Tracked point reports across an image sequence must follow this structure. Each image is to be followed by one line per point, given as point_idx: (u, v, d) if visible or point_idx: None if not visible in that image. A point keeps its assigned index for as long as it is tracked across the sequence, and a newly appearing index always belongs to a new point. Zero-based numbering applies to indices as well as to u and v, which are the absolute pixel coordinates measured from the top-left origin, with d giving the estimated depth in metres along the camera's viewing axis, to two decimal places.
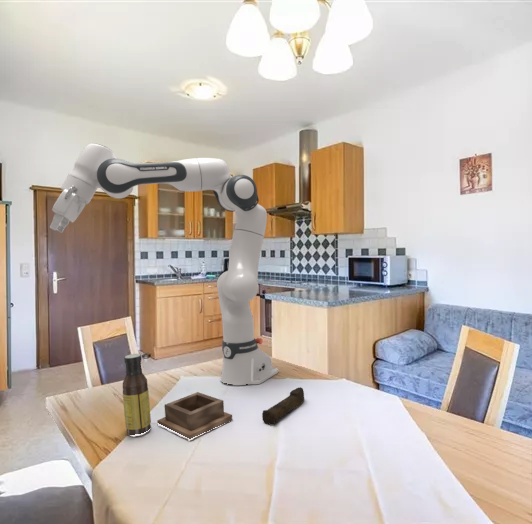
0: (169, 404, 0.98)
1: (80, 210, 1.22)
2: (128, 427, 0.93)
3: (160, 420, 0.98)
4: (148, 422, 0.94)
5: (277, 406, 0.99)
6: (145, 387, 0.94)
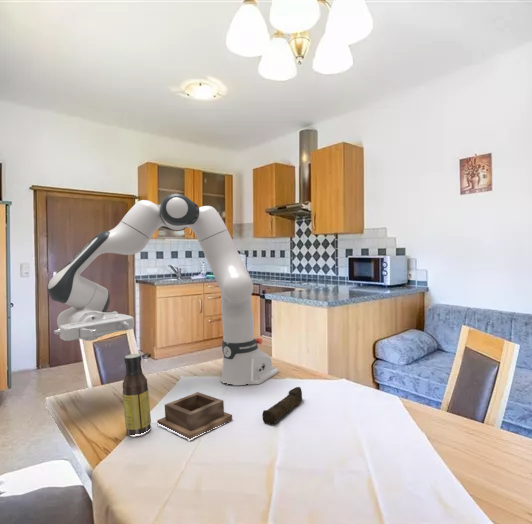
0: (169, 404, 0.98)
1: (121, 315, 1.15)
2: (128, 427, 0.93)
3: (160, 420, 0.98)
4: (148, 422, 0.94)
5: (277, 406, 0.99)
6: (145, 387, 0.94)
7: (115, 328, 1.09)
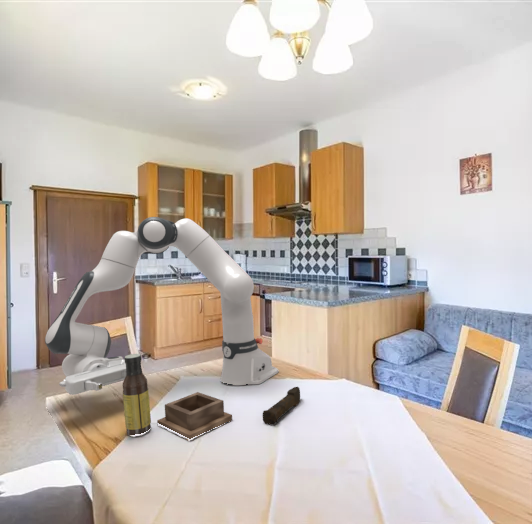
0: (169, 404, 0.98)
1: None
2: (128, 427, 0.93)
3: (160, 420, 0.98)
4: (148, 422, 0.94)
5: (277, 406, 0.99)
6: (145, 387, 0.94)
7: (120, 377, 1.09)
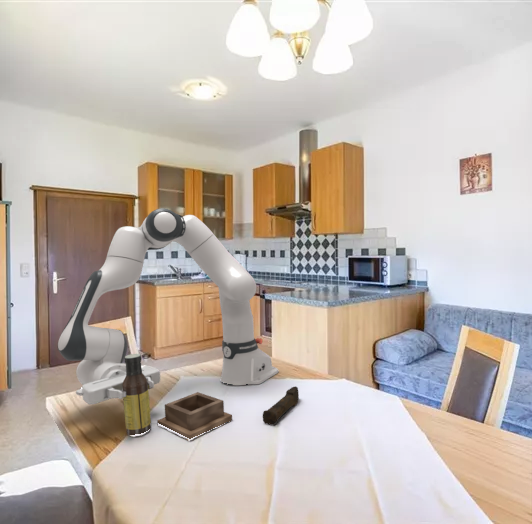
0: (169, 404, 0.98)
1: (146, 368, 1.07)
2: (128, 427, 0.93)
3: (160, 420, 0.98)
4: (148, 422, 0.94)
5: (277, 406, 0.99)
6: (145, 387, 0.94)
7: None
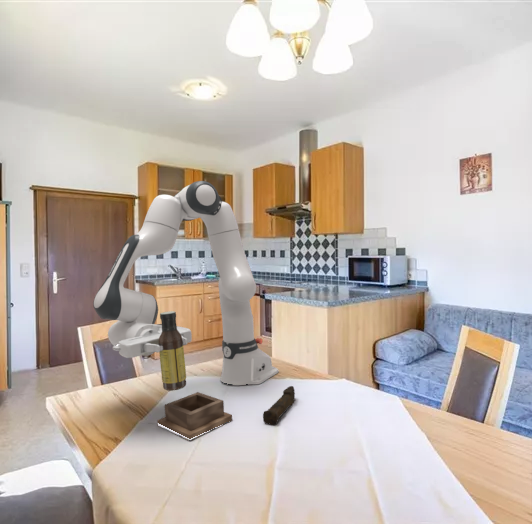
0: (169, 404, 0.98)
1: (177, 328, 1.09)
2: (165, 381, 0.95)
3: (160, 420, 0.98)
4: (184, 377, 0.97)
5: (276, 406, 1.00)
6: (181, 343, 0.97)
7: None
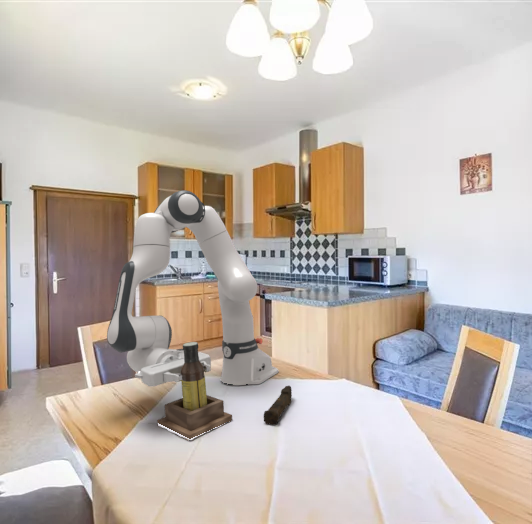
0: (169, 404, 0.98)
1: None
2: None
3: (160, 420, 0.98)
4: None
5: (276, 405, 1.00)
6: (202, 374, 0.98)
7: None
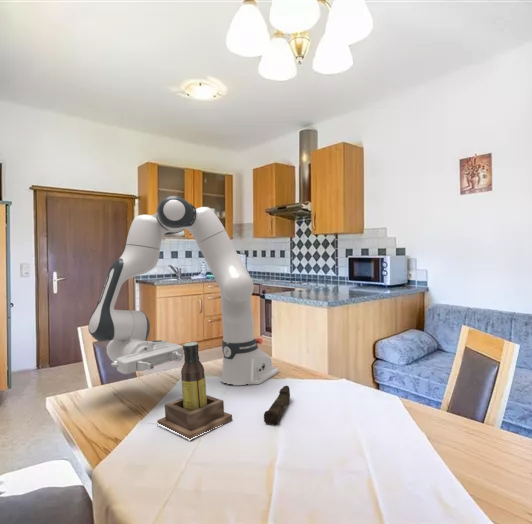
0: (169, 404, 0.98)
1: (170, 345, 1.19)
2: None
3: (160, 420, 0.98)
4: None
5: (276, 406, 1.00)
6: (203, 374, 0.98)
7: (167, 358, 1.14)
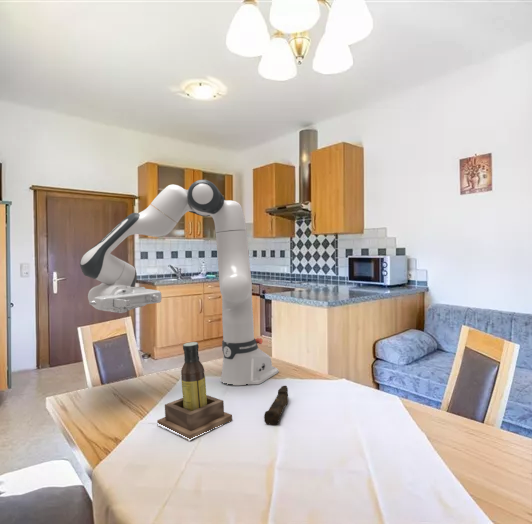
0: (169, 404, 0.98)
1: (149, 290, 1.22)
2: None
3: (160, 420, 0.98)
4: None
5: (276, 406, 1.00)
6: (203, 374, 0.98)
7: (144, 301, 1.17)
